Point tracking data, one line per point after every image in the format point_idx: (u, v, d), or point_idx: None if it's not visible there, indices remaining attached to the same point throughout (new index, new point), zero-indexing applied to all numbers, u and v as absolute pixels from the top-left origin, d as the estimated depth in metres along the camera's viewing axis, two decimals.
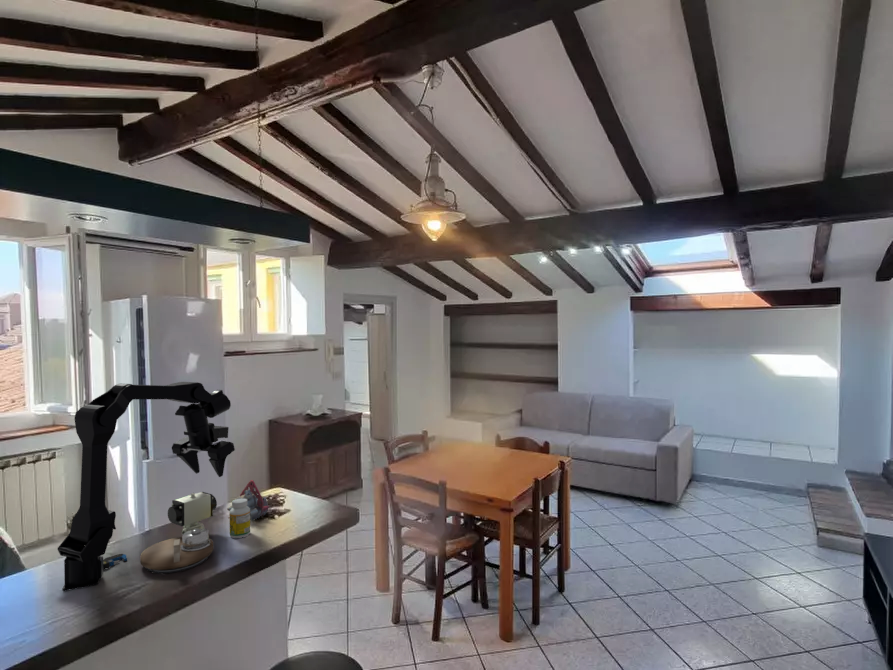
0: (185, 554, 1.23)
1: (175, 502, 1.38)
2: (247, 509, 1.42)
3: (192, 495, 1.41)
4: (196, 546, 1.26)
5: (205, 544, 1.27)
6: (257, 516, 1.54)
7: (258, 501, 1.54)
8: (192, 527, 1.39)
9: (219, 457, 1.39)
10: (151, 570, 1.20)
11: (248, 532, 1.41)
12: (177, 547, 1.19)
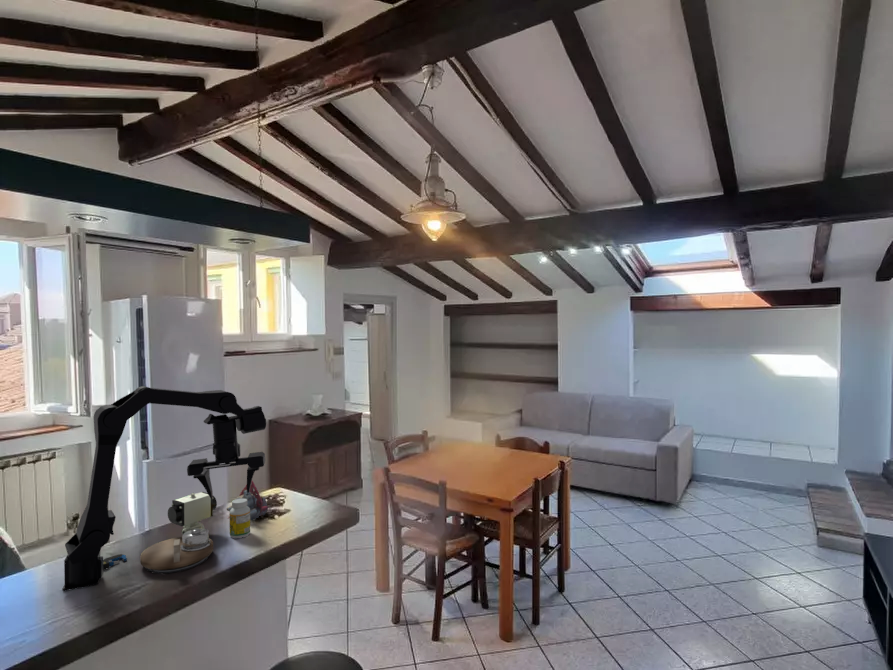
0: (185, 554, 1.23)
1: (175, 502, 1.38)
2: (247, 509, 1.42)
3: (192, 495, 1.41)
4: (196, 546, 1.26)
5: (205, 544, 1.27)
6: (256, 516, 1.53)
7: (257, 501, 1.54)
8: (192, 527, 1.39)
9: (262, 464, 1.36)
10: (151, 570, 1.20)
11: (248, 532, 1.41)
12: (177, 547, 1.19)
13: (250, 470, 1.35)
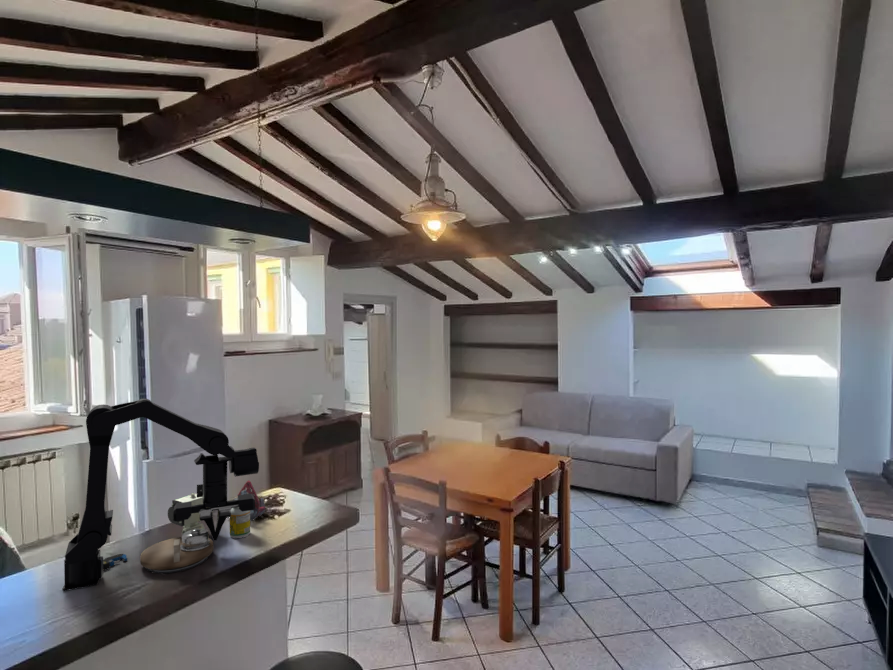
0: (185, 554, 1.23)
1: (175, 502, 1.38)
2: None
3: (192, 495, 1.41)
4: (196, 546, 1.26)
5: (205, 544, 1.27)
6: (253, 517, 1.53)
7: None
8: (192, 527, 1.39)
9: (254, 507, 1.32)
10: (151, 570, 1.20)
11: (248, 532, 1.41)
12: (177, 547, 1.19)
13: (222, 516, 1.28)
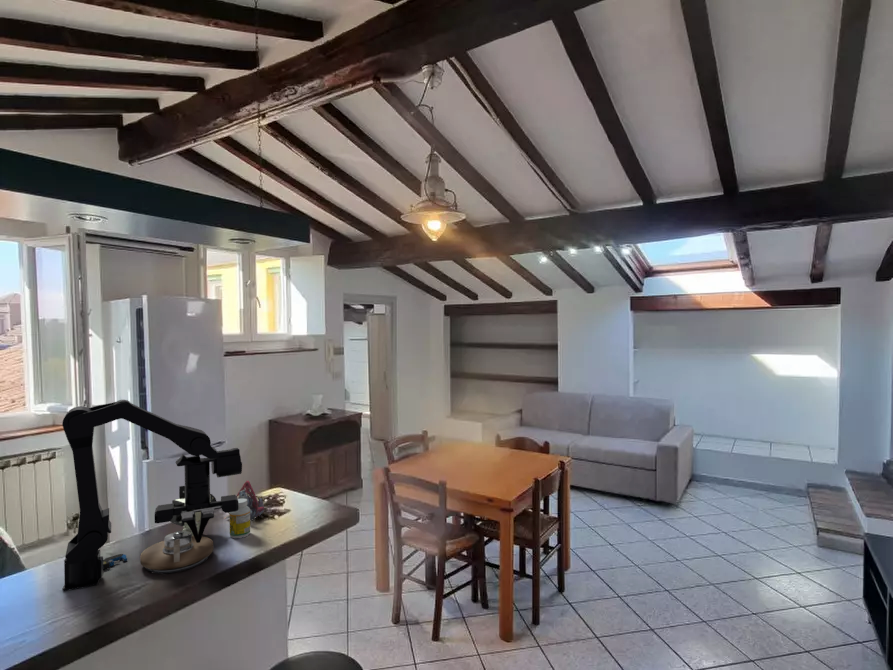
0: (185, 554, 1.23)
1: (175, 502, 1.38)
2: (247, 509, 1.42)
3: None
4: None
5: (187, 547, 1.26)
6: (252, 517, 1.53)
7: (253, 502, 1.53)
8: None
9: (237, 508, 1.30)
10: (151, 570, 1.20)
11: (248, 532, 1.41)
12: (177, 547, 1.19)
13: (204, 518, 1.26)
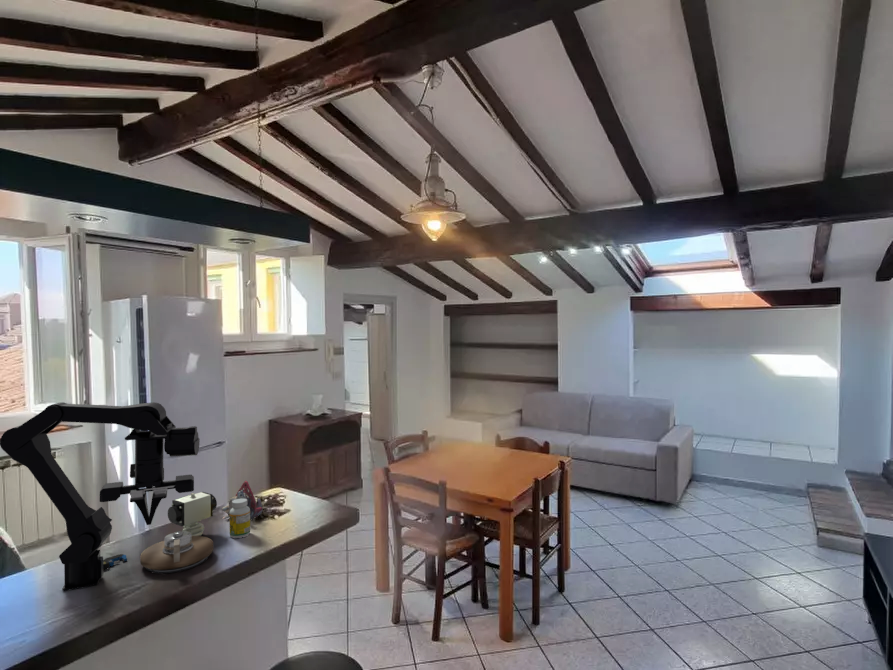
0: (185, 554, 1.23)
1: (175, 502, 1.38)
2: (247, 509, 1.42)
3: (192, 495, 1.41)
4: None
5: (187, 547, 1.26)
6: (250, 517, 1.52)
7: (251, 502, 1.53)
8: (192, 527, 1.39)
9: (193, 489, 1.21)
10: (151, 570, 1.20)
11: (248, 532, 1.41)
12: (177, 547, 1.19)
13: (156, 498, 1.17)
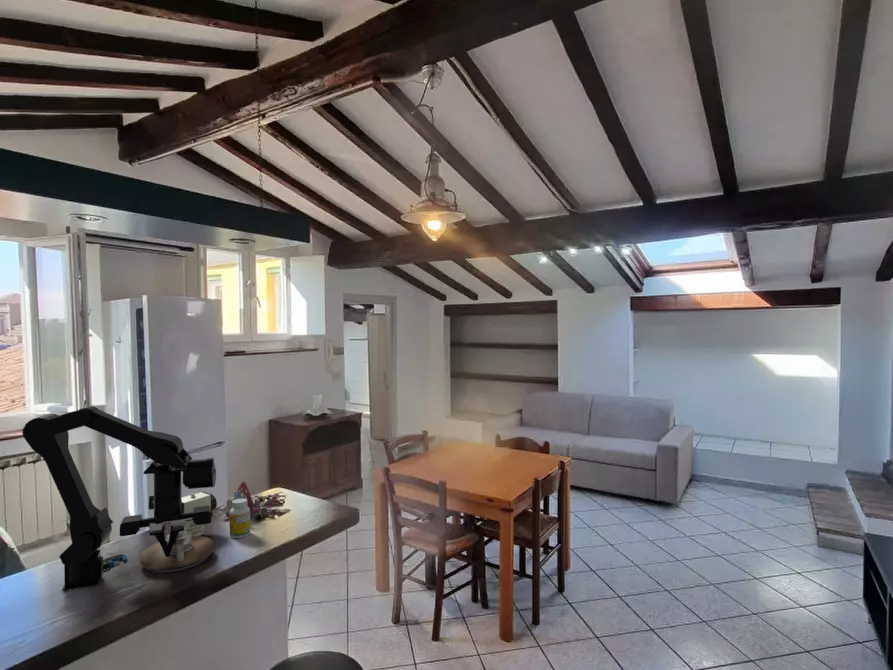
0: (187, 553, 1.24)
1: None
2: (247, 509, 1.42)
3: (192, 495, 1.41)
4: None
5: (188, 546, 1.26)
6: None
7: (249, 503, 1.53)
8: (192, 527, 1.39)
9: (210, 520, 1.22)
10: (151, 570, 1.20)
11: (248, 532, 1.41)
12: (181, 546, 1.20)
13: (174, 531, 1.18)
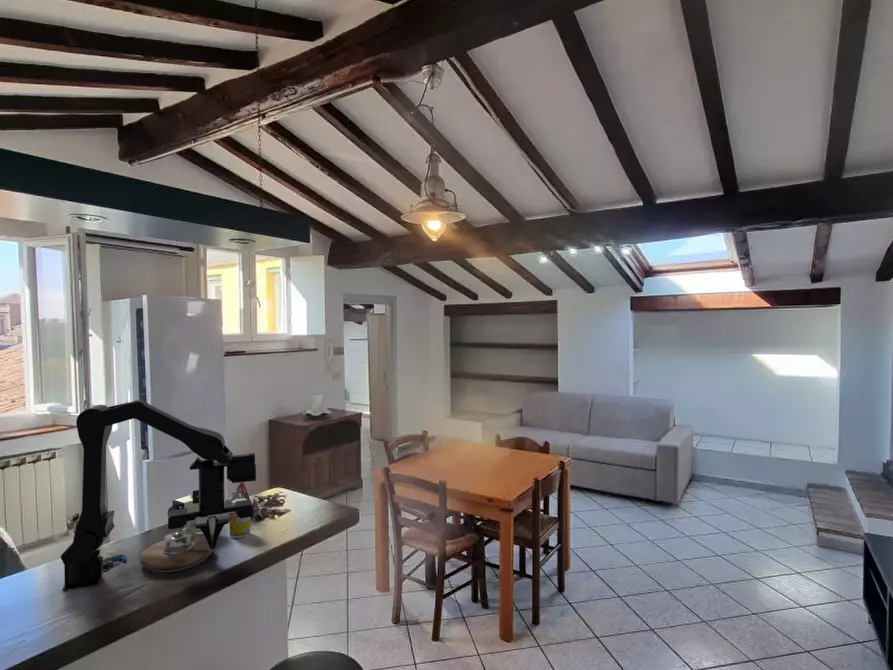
0: None
1: (175, 502, 1.38)
2: None
3: (192, 495, 1.41)
4: (190, 544, 1.27)
5: None
6: None
7: None
8: (192, 527, 1.39)
9: (252, 514, 1.26)
10: (151, 570, 1.20)
11: (248, 532, 1.41)
12: None
13: (219, 524, 1.23)
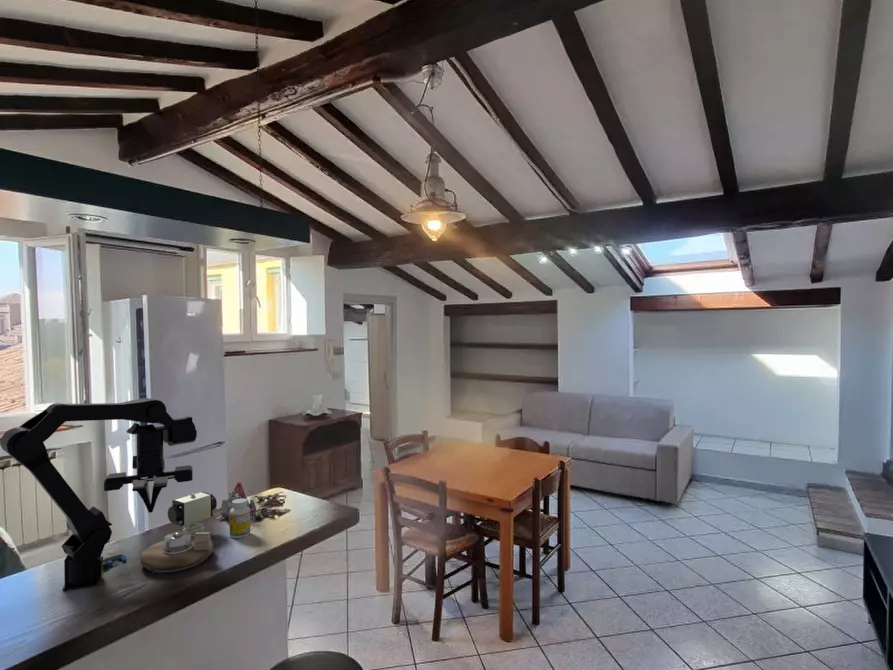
0: None
1: (175, 502, 1.38)
2: (247, 509, 1.42)
3: (192, 495, 1.41)
4: (190, 544, 1.27)
5: None
6: None
7: None
8: (192, 527, 1.39)
9: (191, 478, 1.28)
10: (151, 570, 1.20)
11: (248, 532, 1.41)
12: (210, 535, 1.26)
13: (156, 487, 1.25)
